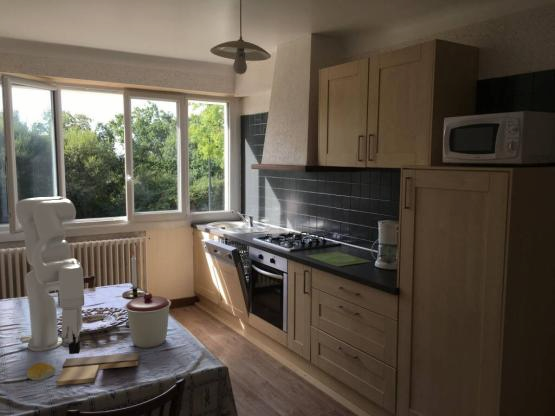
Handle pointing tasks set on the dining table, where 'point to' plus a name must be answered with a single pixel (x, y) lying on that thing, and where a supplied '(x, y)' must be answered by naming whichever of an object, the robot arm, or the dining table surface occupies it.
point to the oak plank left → (77, 375)
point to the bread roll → (40, 371)
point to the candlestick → (134, 292)
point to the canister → (148, 320)
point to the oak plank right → (118, 365)
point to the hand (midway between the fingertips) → (74, 352)
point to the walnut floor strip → (100, 360)
